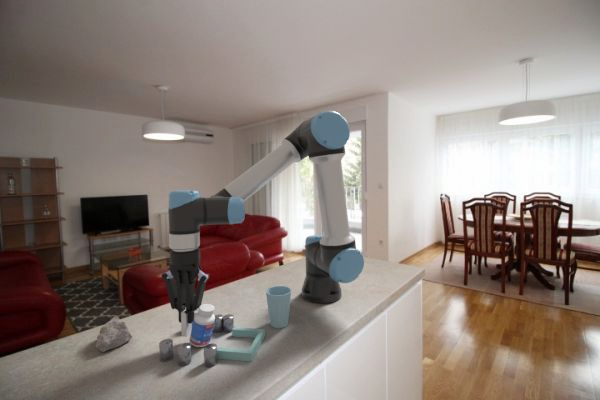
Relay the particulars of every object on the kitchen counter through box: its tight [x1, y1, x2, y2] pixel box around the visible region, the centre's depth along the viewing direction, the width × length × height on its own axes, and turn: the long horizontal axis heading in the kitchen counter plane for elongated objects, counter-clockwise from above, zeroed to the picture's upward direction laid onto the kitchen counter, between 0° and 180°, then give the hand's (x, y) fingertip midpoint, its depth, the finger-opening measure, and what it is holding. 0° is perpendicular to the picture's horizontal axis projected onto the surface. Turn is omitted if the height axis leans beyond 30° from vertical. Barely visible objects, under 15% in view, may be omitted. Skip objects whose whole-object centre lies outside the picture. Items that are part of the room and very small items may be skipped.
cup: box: [265, 285, 292, 329], centre depth 85 cm, size 8×8×10 cm
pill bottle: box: [189, 303, 216, 348], centre depth 75 cm, size 6×5×10 cm
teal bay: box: [217, 326, 266, 362], centre depth 74 cm, size 9×11×2 cm
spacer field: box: [158, 312, 235, 368], centre depth 75 cm, size 16×18×4 cm
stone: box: [95, 316, 133, 353], centre depth 77 cm, size 8×10×6 cm
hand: (186, 333), depth 76 cm, fingers closed
